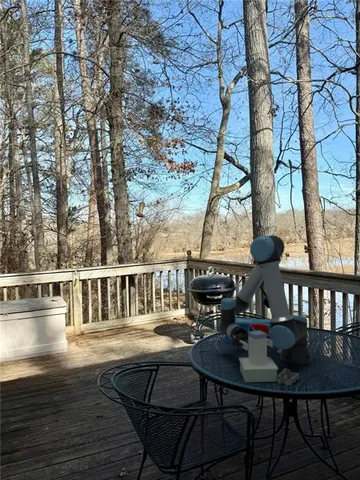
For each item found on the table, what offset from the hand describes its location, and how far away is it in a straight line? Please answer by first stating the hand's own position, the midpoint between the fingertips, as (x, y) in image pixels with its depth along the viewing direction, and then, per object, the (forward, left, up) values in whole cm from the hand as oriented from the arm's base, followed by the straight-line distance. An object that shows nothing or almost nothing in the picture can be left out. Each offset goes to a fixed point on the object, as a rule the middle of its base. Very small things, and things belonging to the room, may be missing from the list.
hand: (259, 345), depth 179 cm
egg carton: (-12, +3, -15) cm, 20 cm away
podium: (0, -3, -15) cm, 15 cm away
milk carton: (0, -3, -9) cm, 9 cm away
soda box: (-12, -53, -15) cm, 56 cm away
